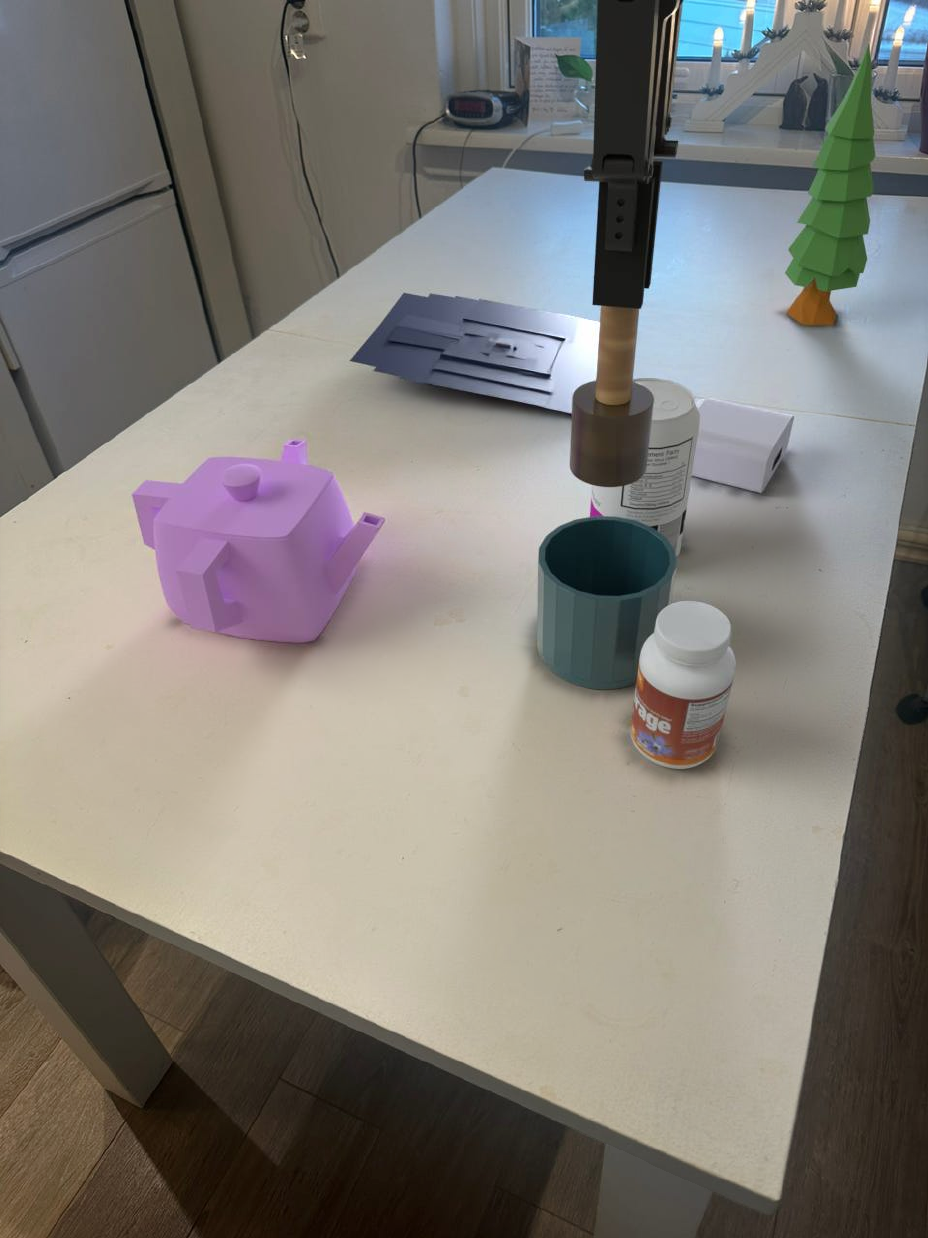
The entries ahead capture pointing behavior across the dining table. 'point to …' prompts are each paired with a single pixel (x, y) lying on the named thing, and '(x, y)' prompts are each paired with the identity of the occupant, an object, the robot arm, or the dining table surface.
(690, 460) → the supplement can
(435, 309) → the dark blue flat slab
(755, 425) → the charger
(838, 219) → the decorative tree
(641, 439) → the brush
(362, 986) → the dining table surface
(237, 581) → the teakettle
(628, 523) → the jar
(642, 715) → the pill bottle
